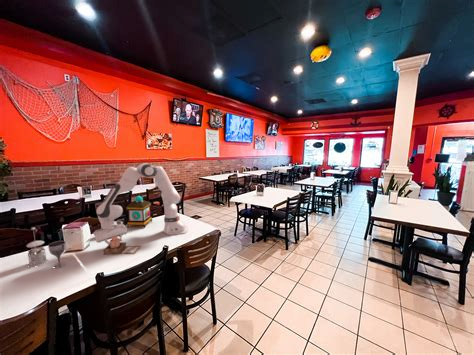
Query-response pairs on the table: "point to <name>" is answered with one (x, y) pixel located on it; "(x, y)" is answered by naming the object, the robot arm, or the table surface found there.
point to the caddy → (121, 249)
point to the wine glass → (57, 252)
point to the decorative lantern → (139, 212)
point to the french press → (39, 256)
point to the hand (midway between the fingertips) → (115, 242)
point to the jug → (115, 242)
